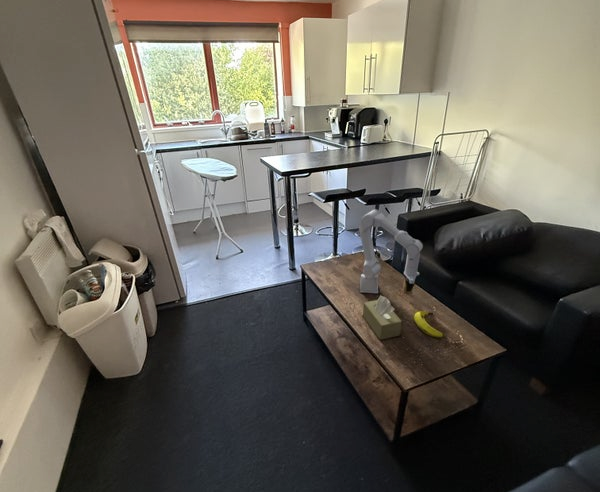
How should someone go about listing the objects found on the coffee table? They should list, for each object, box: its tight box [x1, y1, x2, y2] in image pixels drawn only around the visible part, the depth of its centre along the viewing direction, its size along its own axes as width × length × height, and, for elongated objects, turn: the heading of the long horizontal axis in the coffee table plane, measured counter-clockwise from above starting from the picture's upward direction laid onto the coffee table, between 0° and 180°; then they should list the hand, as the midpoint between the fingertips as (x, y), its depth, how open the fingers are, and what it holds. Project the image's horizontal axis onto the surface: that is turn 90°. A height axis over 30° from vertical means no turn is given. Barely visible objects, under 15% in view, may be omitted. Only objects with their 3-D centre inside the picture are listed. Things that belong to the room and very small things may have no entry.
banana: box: [413, 310, 445, 339], centre depth 146 cm, size 5×17×15 cm
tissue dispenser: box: [362, 295, 403, 340], centre depth 144 cm, size 19×10×16 cm, turn 15°
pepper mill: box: [402, 277, 414, 296], centre depth 159 cm, size 5×5×9 cm
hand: (408, 288), depth 160 cm, fingers closed on pepper mill, 4 cm apart
